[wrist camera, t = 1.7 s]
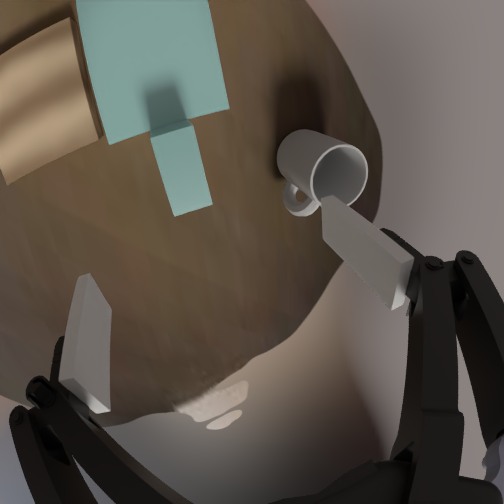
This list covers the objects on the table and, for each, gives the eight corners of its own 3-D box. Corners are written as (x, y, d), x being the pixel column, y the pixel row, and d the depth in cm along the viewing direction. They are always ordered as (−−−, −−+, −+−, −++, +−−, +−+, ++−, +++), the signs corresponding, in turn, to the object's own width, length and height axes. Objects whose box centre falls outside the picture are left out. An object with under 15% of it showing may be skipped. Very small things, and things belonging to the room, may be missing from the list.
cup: (334, 147, 36) (378, 167, 29) (294, 208, 39) (328, 240, 32) (295, 117, 32) (336, 130, 25) (252, 185, 35) (281, 215, 28)
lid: (78, 1, 14) (62, -17, 9) (197, -31, 16) (209, -55, 11) (133, 205, 26) (130, 231, 22) (238, 171, 28) (257, 191, 24)
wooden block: (-13, 73, 16) (-25, 73, 14) (76, 22, 18) (69, 17, 16) (17, 176, 24) (7, 185, 22) (103, 135, 26) (98, 139, 24)
